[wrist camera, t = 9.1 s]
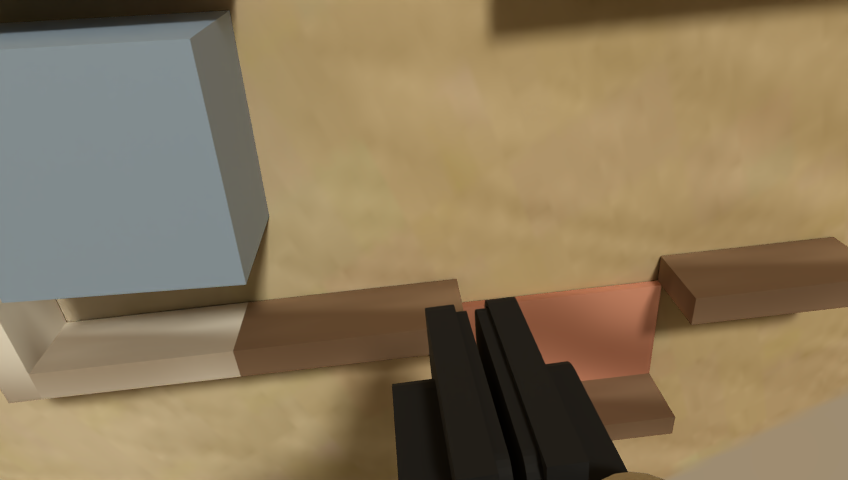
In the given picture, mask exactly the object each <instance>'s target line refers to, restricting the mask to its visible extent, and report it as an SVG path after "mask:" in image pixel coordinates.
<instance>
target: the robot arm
mask: <svg viewBox="0 0 848 480" xmlns="http://www.w3.org/2000/svg"><path fill="white" fill-rule="evenodd" d="M425 317H426V327H427V336H428V346H429V356H430V365H431V375H432V379H428V380H420V381H413V382H405V383H397V384H392V390H393V406H394V421H395V435H396V450H397V465H398V480H664V479H662V478H659V477H656V476H653V475H650V474H646V473H637V472H628V471H627V469H626V467H625V465H624V463H623V461H622V460H621V458H620V456H619V454H618V452H617V450H616V448H615V446H614V444H613V442H612V440H611V438H610V436H609V434H608V432H607V430H606V428H605V427H604V425H603V423H602V421H601V419H600V417H599V415H598V413H597V411H596V409H595V407H594V405H593V403H592V401H591V399H590V397H589V396H588V394H587V392H586V390H585V388H584V386H583V384H582V382H581V380H580V378H579V376H578V374H577V372H576V370H575V368H574V367H573V365H572V364H571V363H570V362H568V361H565V362H558V363H550V364H545V362H544V360H543V357H542V355H541V353H540V351H539V348H538V346H537V344H536V342H535V339H534V337H533V335H532V333H531V331H530V328H529V326H528V324H527V322H526V319H525V317H524V315H523V313H522V311H521V308H520V306H519V304H518V302H517V300H516V298H515V297H507V298H499V299H491V300H485V304H484V308H482V309H475V330H476V341H475V338H474V334H473V331H472V328H471V324H470V321H469V317H468V314H467V311H458V312H456V310H455V306H454V304H452V305H444V306H436V307H428V308H425Z"/></svg>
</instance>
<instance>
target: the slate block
mask: <svg viewBox="0 0 848 480" xmlns="http://www.w3.org/2000/svg"><path fill="white" fill-rule="evenodd" d="M268 218H269V213H268V208H267V202H266V197H265V192H264V187H263V182H262V177H261V171H260V166H259V161H258V156H257V151H256V145H255V140H254V135H253V130H252V125H251V119H250V114H249V109H248V104H247V99H246V94H245V88H244V83H243V78H242V73H241V68H240V62H239V57H238V52H237V47H236V42H235V36H234V31H233V26H232V21H231V16H230V11H229V10H227V11H209V12H191V13H173V14H155V15H137V16H119V17H101V18H83V19H65V20H47V21H29V22H11V23H0V299H1V301H2V303H11V302H24V301H37V300H50V299H63V298H76V297H90V296H103V295H116V294H129V293H142V292H156V291H169V290H182V289H195V288H208V287H221V286H235V285H246V283H247V280H248V277H249V274H250V271H251V268H252V265H253V262H254V260H255V257H256V254H257V251H258V248H259V245H260V242H261V239H262V236H263V233H264V230H265V227H266V224H267V221H268Z"/></svg>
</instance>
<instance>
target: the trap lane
mask: <svg viewBox="0 0 848 480" xmlns="http://www.w3.org/2000/svg"><path fill="white" fill-rule="evenodd" d="M661 286H662V287H663V288H664V289H665V291H666V292H667V293H668V295H669V296H670V297H671V299H672V300H673V301H674V303H675V304H676V305H677V306H678V308H679V309H680V310H681V312H682V313H683V314H684V316H685V317H686V318H687V320H688V321H689V322H690V324H691V325H694V324H703V323H712V322H720V321H729V320H738V319H747V318H755V317H764V316H773V315H781V314H790V313H799V312H808V311H816V310H825V309H834V308H842V307H848V247H847V246H846V245H844V244H843V243H841V242H840V241H839V240H837V239H836V238H834V237H829V238H820V239H811V240H802V241H793V242H784V243H775V244H766V245H757V246H748V247H739V248H730V249H721V250H712V251H703V252H694V253H685V254H676V255H667V256H661V261H660V268H659V275H658V281H650V282H641V283H633V284H624V285H615V286H606V287H597V288H588V289H579V290H570V291H561V292H553V293H544V294H535V295H526V296H517V297H515V298H516V300H517V302H518V304H519V306H520V308H521V311H522V313H523V315H524V317H525V319H526V322H527V324H528V326H529V328H530V331H531V333H532V335H533V337H534V339H535V342H536V344H537V346H538V348H539V351H540V353H541V355H542V357H543V360H544V362H545V364H550V363H558V362H565V361H568V362H570V363H571V364H572V365H573V367H574V368H575V370H576V372H577V374H578V376H579V378H580V380H581V382H582V384H583V386H584V388H585V390H586V392H587V394H588V396H589V397H590V399H591V401H592V403H593V405H594V407H595V409H596V411H597V413H598V415H599V417H600V419H601V421H602V423H603V425H604V427H605V428H606V430H607V432H608V434H609V436H610V438H611V440H620V439H628V438H637V437H645V436H653V435H662V434H670V433H672V431H673V425H674V420H675V416H674V414H673V413H672V411H671V409H670V408H669V406H668V404H667V403H666V401H665V399H664V398H663V396H662V394H661V392H660V391H659V389H658V387H657V386H656V384H655V382H654V381H653V379H652V377H651V376H650V374H649V370H650V363H651V356H652V349H653V342H654V335H655V328H656V321H657V313H658V306H659V299H660V292H661ZM490 300H491V299H490ZM452 304H454V306H455V310H456V312H458V311H467V314H468V317H469V321H470V324H471V328H472V331H473V334H474V338H475V341H476V330H475V309H482V308H484V304H485V300H482V301H473V302H464V303H462V301H461V297H460V292H459V288H458V283H457V279H452V280H443V281H434V282H425V283H416V284H407V285H398V286H389V287H380V288H371V289H362V290H353V291H344V292H336V293H327V294H318V295H309V296H300V297H291V298H282V299H273V300H264V301H255V302H246V303H237V304H228V305H219V306H210V307H201V308H192V309H183V310H174V311H165V312H156V313H147V314H138V315H129V316H120V317H111V318H102V319H93V320H84V321H76V322H66V320H65V318H64V316H63V314H62V312H61V310H60V307H59V305H58V303H57V301H56V299H50V300H37V301H24V302H11V303H2V301H1V299H0V389H1V391H2V393H3V394H4V396H5V398H6V399H7V401H8V403H14V402H23V401H32V400H40V399H49V398H58V397H66V396H75V395H84V394H93V393H101V392H110V391H119V390H128V389H136V388H145V387H154V386H162V385H171V384H180V383H189V382H197V381H206V380H215V379H223V378H232V377H241V376H250V375H258V374H267V373H276V372H284V371H293V370H302V369H311V368H319V367H328V366H337V365H345V364H354V363H363V362H372V361H380V360H389V359H398V358H407V357H415V356H424V355H429V346H428V336H427V327H426V317H425V308H428V307H436V306H444V305H452Z"/></svg>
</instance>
